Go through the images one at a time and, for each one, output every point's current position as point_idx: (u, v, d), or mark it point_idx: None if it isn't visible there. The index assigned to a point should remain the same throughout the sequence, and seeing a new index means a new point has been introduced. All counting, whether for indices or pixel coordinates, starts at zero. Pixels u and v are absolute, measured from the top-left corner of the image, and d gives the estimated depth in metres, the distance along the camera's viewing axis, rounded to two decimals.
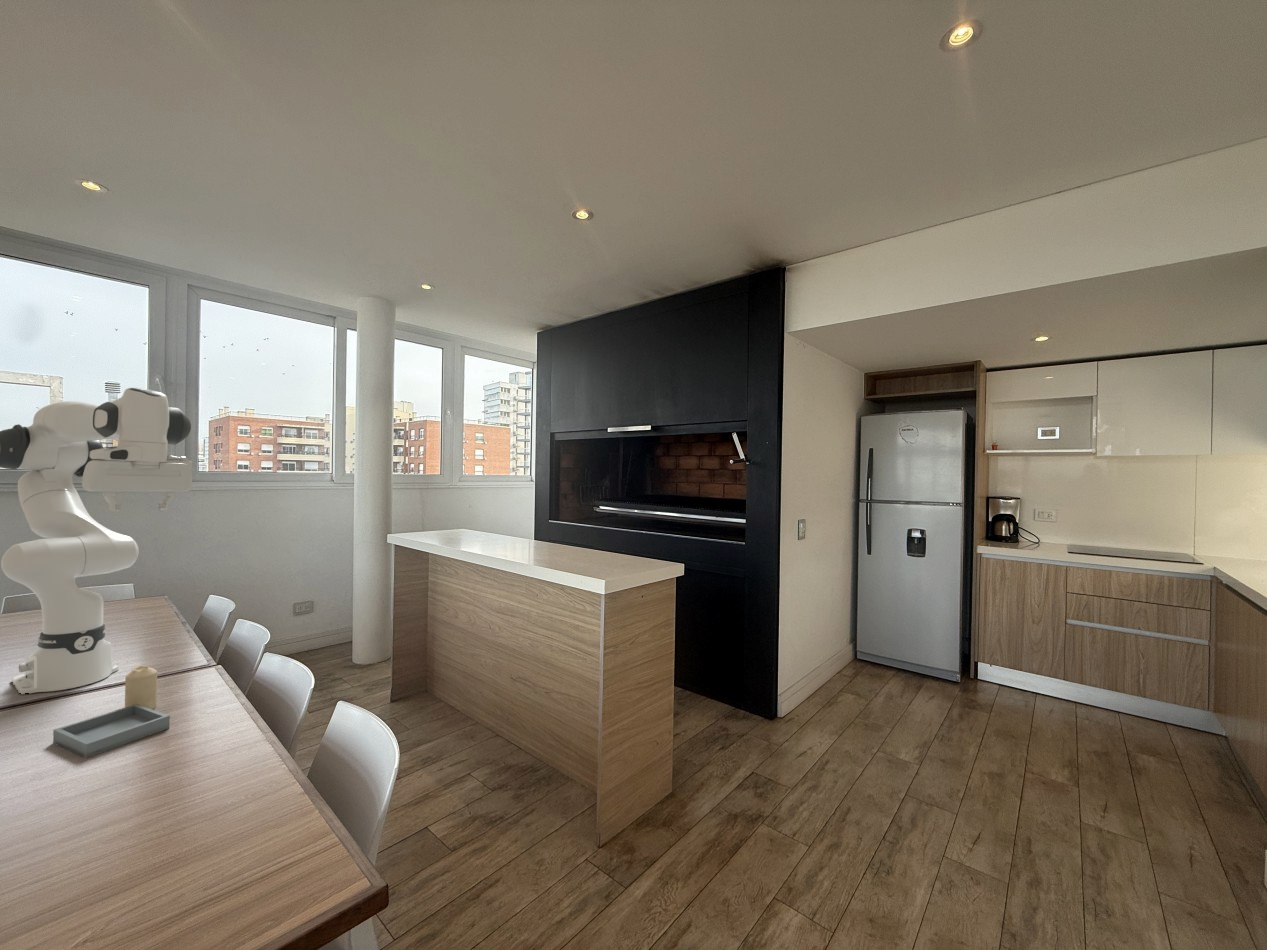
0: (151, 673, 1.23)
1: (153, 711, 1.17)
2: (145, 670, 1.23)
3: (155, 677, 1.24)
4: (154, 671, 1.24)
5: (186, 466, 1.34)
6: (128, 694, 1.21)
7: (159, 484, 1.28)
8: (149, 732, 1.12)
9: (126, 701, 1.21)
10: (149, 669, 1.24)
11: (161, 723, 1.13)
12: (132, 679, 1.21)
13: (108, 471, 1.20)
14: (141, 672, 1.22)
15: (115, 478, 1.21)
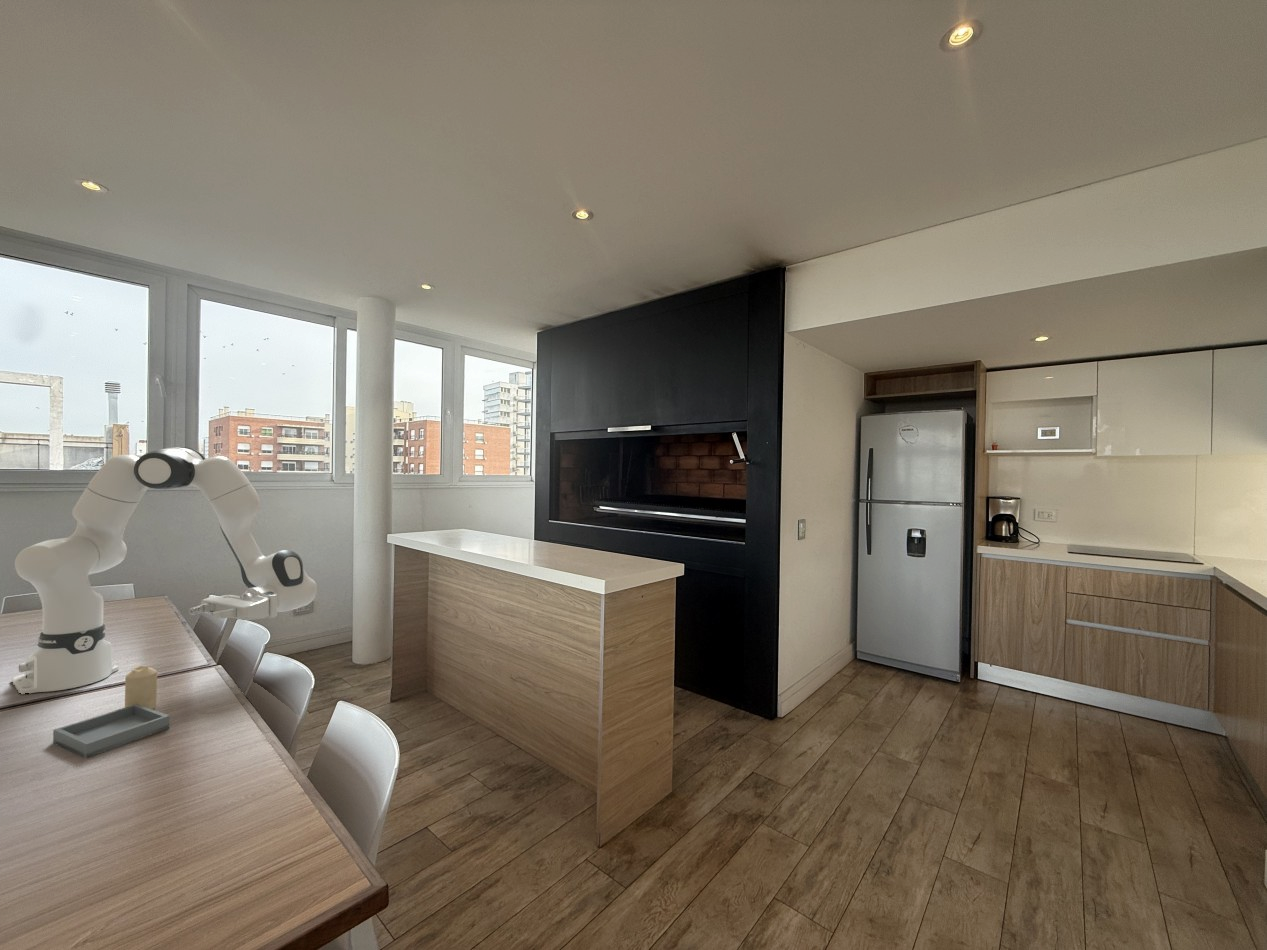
0: (151, 673, 1.23)
1: (153, 711, 1.17)
2: (145, 670, 1.23)
3: (155, 677, 1.24)
4: (154, 671, 1.24)
5: None
6: (128, 694, 1.21)
7: None
8: (149, 732, 1.12)
9: (126, 701, 1.21)
10: (149, 669, 1.24)
11: (161, 723, 1.13)
12: (132, 679, 1.21)
13: None
14: (141, 672, 1.22)
15: None
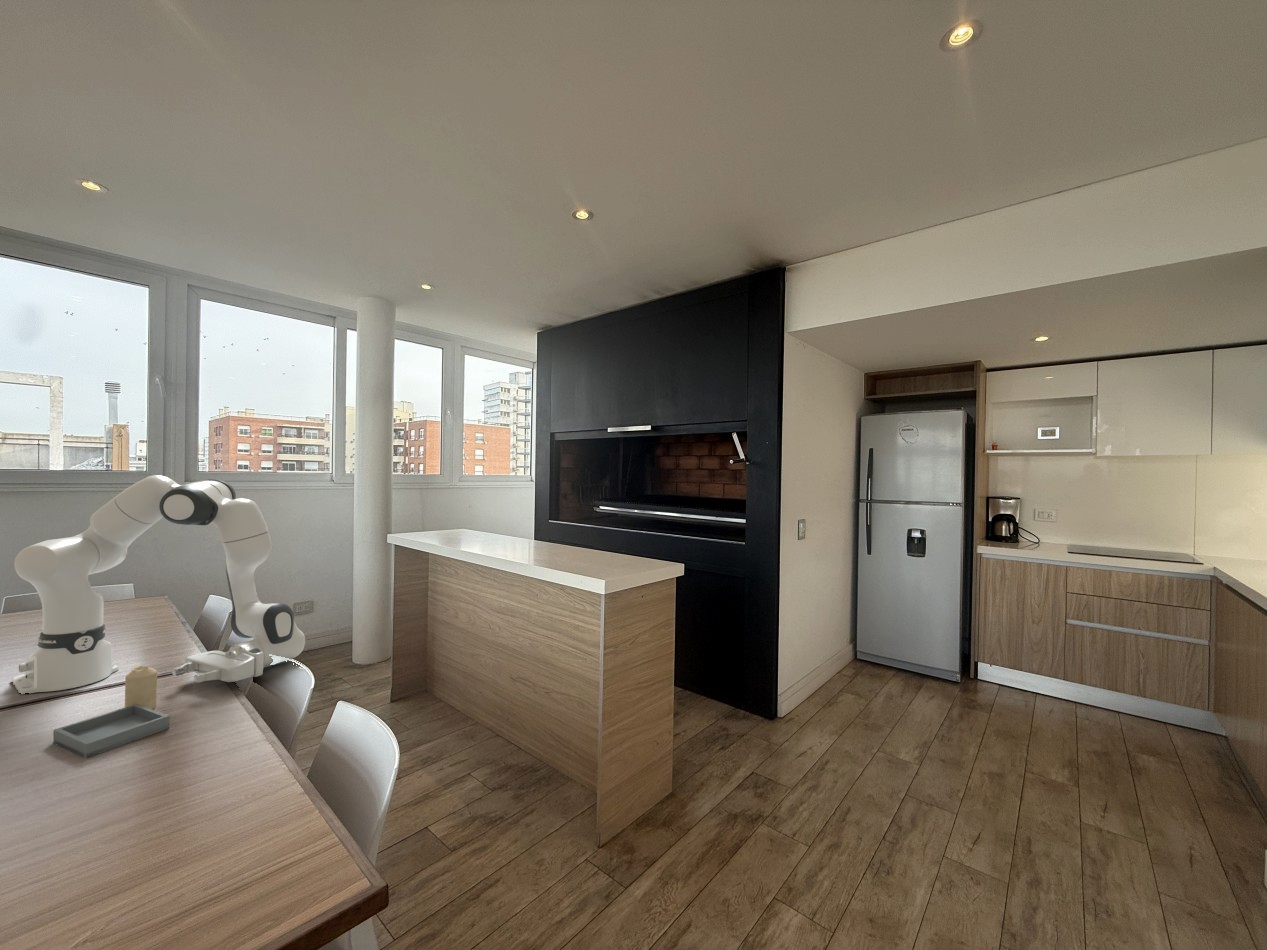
0: (151, 673, 1.23)
1: (153, 711, 1.17)
2: (145, 670, 1.23)
3: (155, 677, 1.24)
4: (154, 671, 1.24)
5: None
6: (128, 694, 1.21)
7: None
8: (149, 732, 1.12)
9: (126, 701, 1.21)
10: (149, 669, 1.24)
11: (161, 723, 1.13)
12: (132, 679, 1.21)
13: None
14: (141, 672, 1.22)
15: None
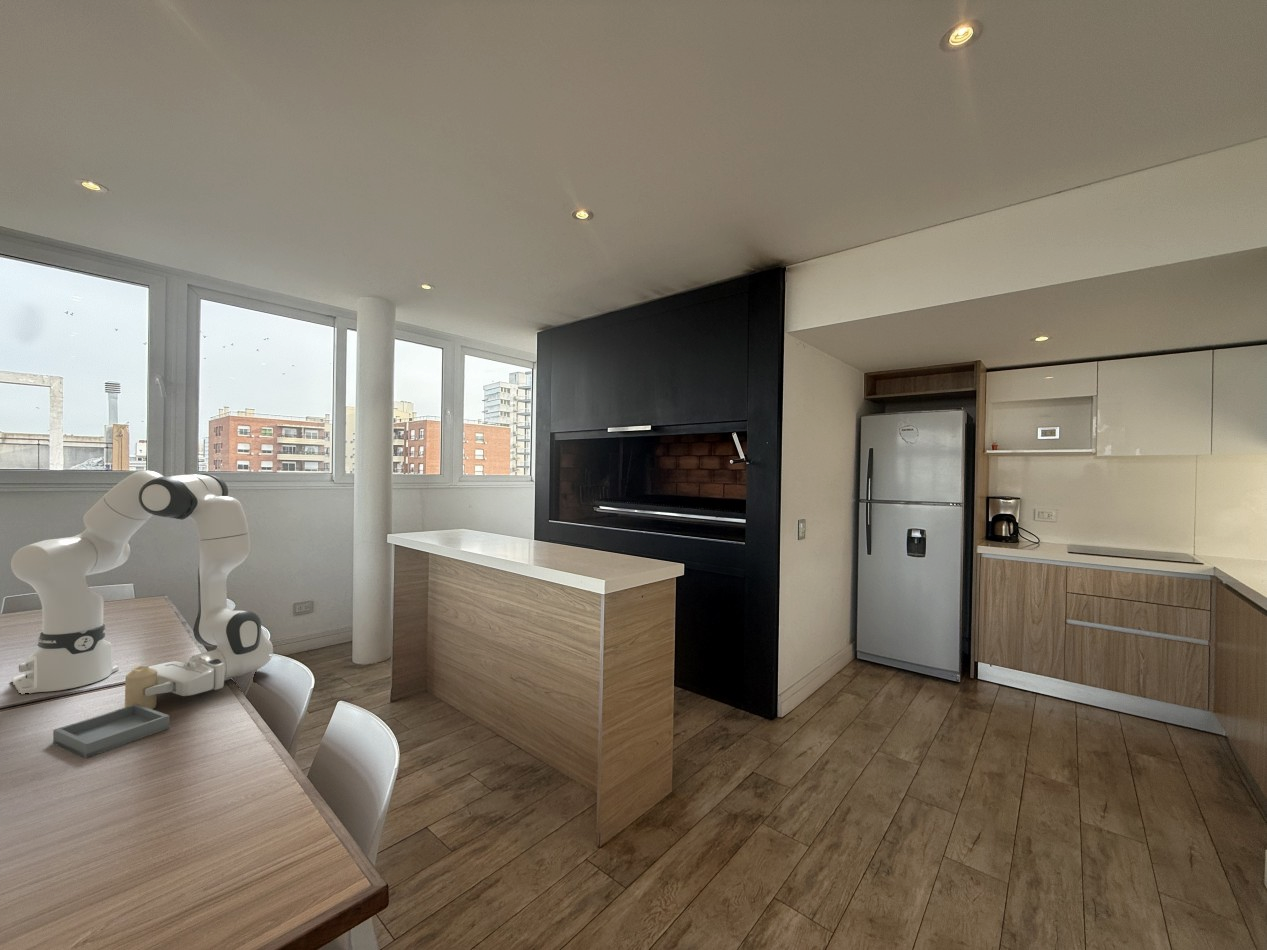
0: (151, 673, 1.23)
1: (153, 711, 1.17)
2: (145, 670, 1.23)
3: (155, 677, 1.24)
4: (154, 671, 1.24)
5: None
6: (128, 694, 1.21)
7: None
8: (149, 732, 1.12)
9: (126, 701, 1.21)
10: (149, 669, 1.24)
11: (161, 723, 1.13)
12: (132, 678, 1.21)
13: None
14: (141, 672, 1.22)
15: None
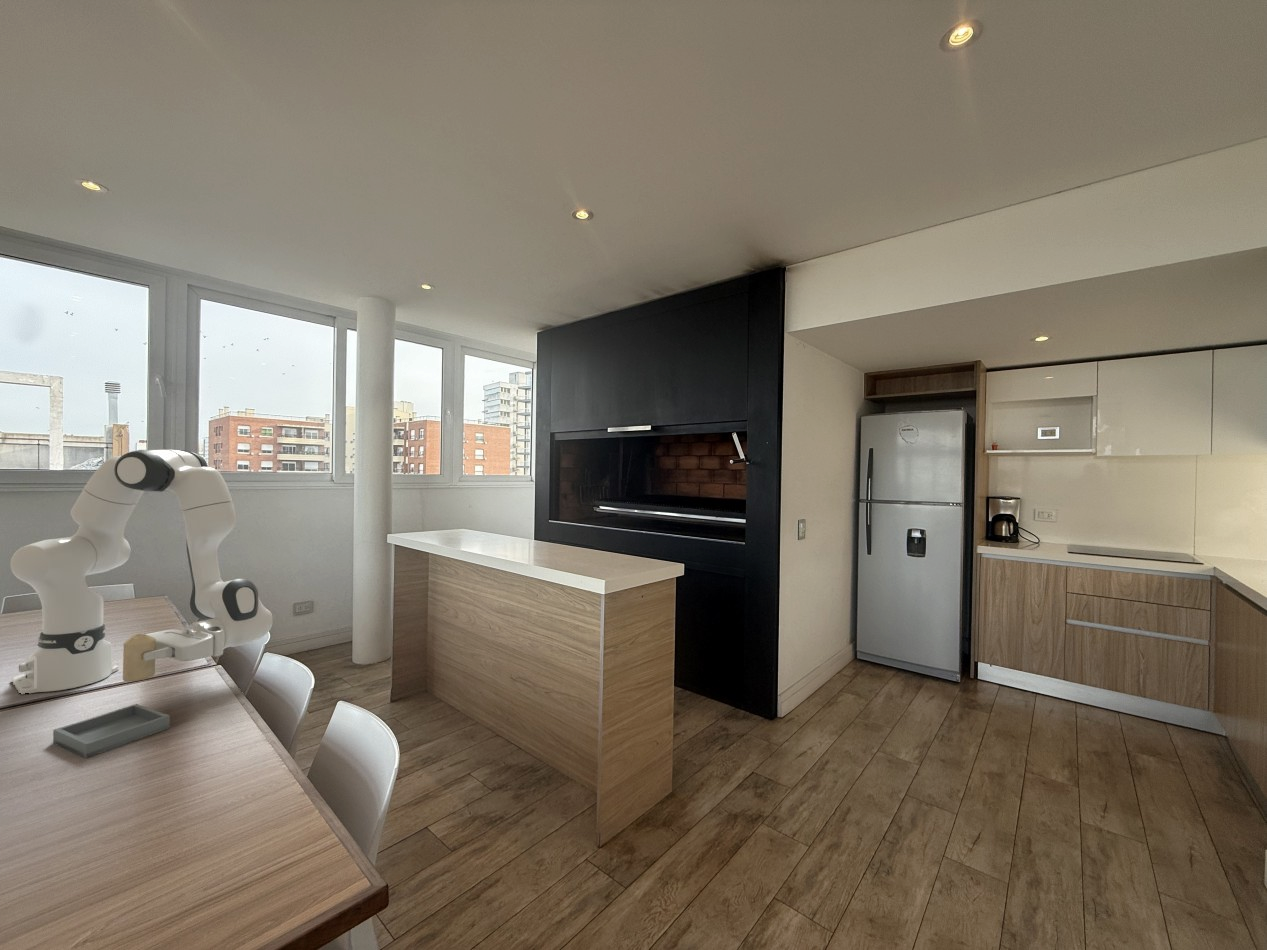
0: (149, 641, 1.22)
1: (153, 711, 1.17)
2: (144, 637, 1.21)
3: (154, 645, 1.23)
4: (153, 639, 1.23)
5: None
6: (126, 661, 1.19)
7: None
8: (149, 732, 1.12)
9: (124, 668, 1.19)
10: (148, 636, 1.22)
11: (161, 723, 1.13)
12: (130, 645, 1.19)
13: None
14: (140, 639, 1.21)
15: None
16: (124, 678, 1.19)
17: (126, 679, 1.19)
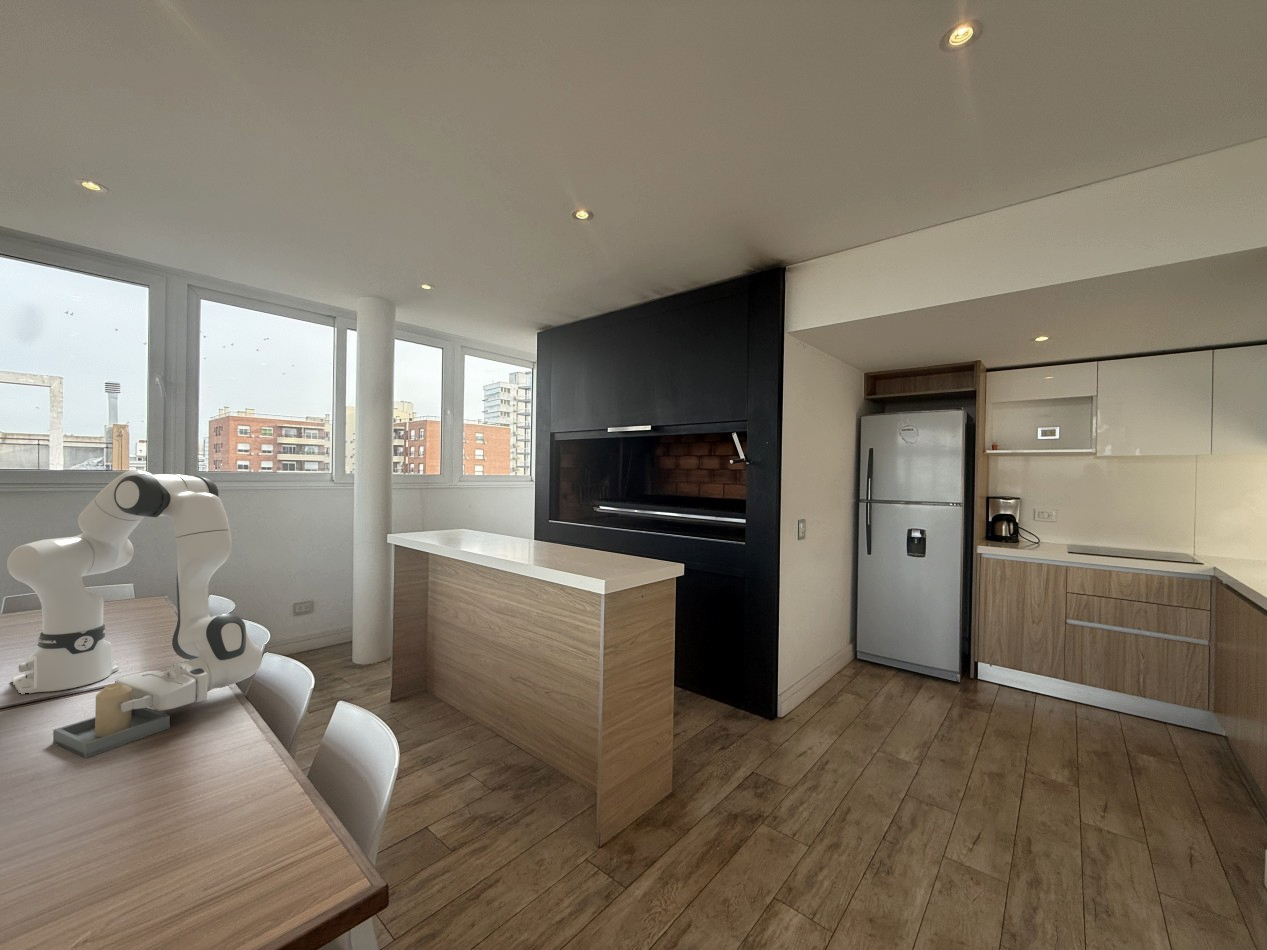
0: (124, 692, 1.11)
1: (153, 711, 1.17)
2: (118, 688, 1.11)
3: (129, 696, 1.12)
4: (128, 689, 1.12)
5: None
6: (99, 715, 1.09)
7: None
8: (149, 732, 1.12)
9: (96, 723, 1.09)
10: (123, 687, 1.11)
11: (161, 723, 1.13)
12: (103, 698, 1.09)
13: None
14: (113, 690, 1.10)
15: None
16: (96, 734, 1.09)
17: (98, 735, 1.09)
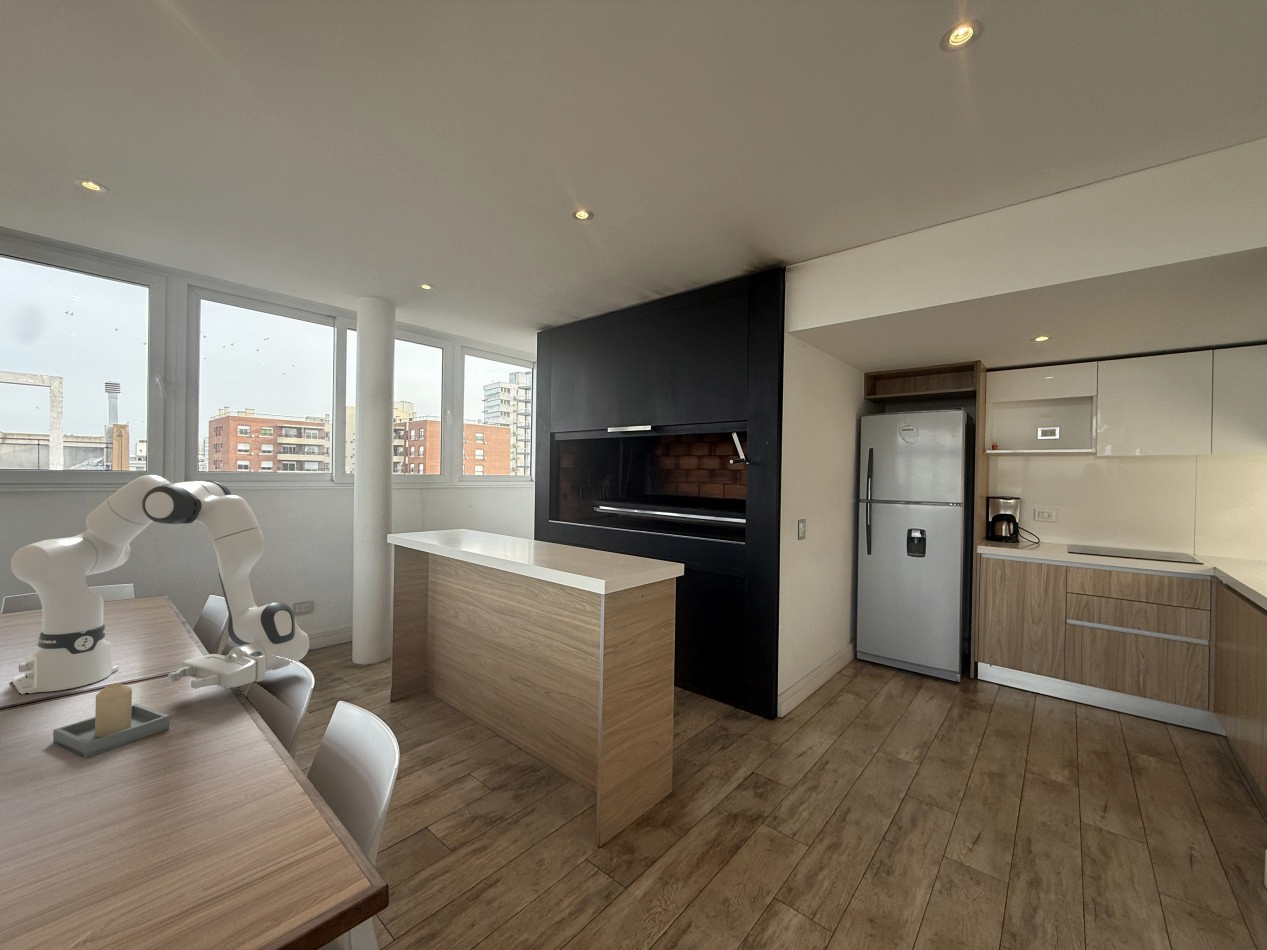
0: (124, 692, 1.11)
1: (153, 711, 1.17)
2: (118, 688, 1.11)
3: (129, 696, 1.12)
4: (128, 689, 1.12)
5: None
6: (99, 715, 1.09)
7: None
8: (149, 732, 1.12)
9: (96, 723, 1.09)
10: (122, 687, 1.11)
11: (161, 723, 1.13)
12: (103, 698, 1.09)
13: None
14: (113, 690, 1.10)
15: None
16: (96, 734, 1.09)
17: (98, 735, 1.09)
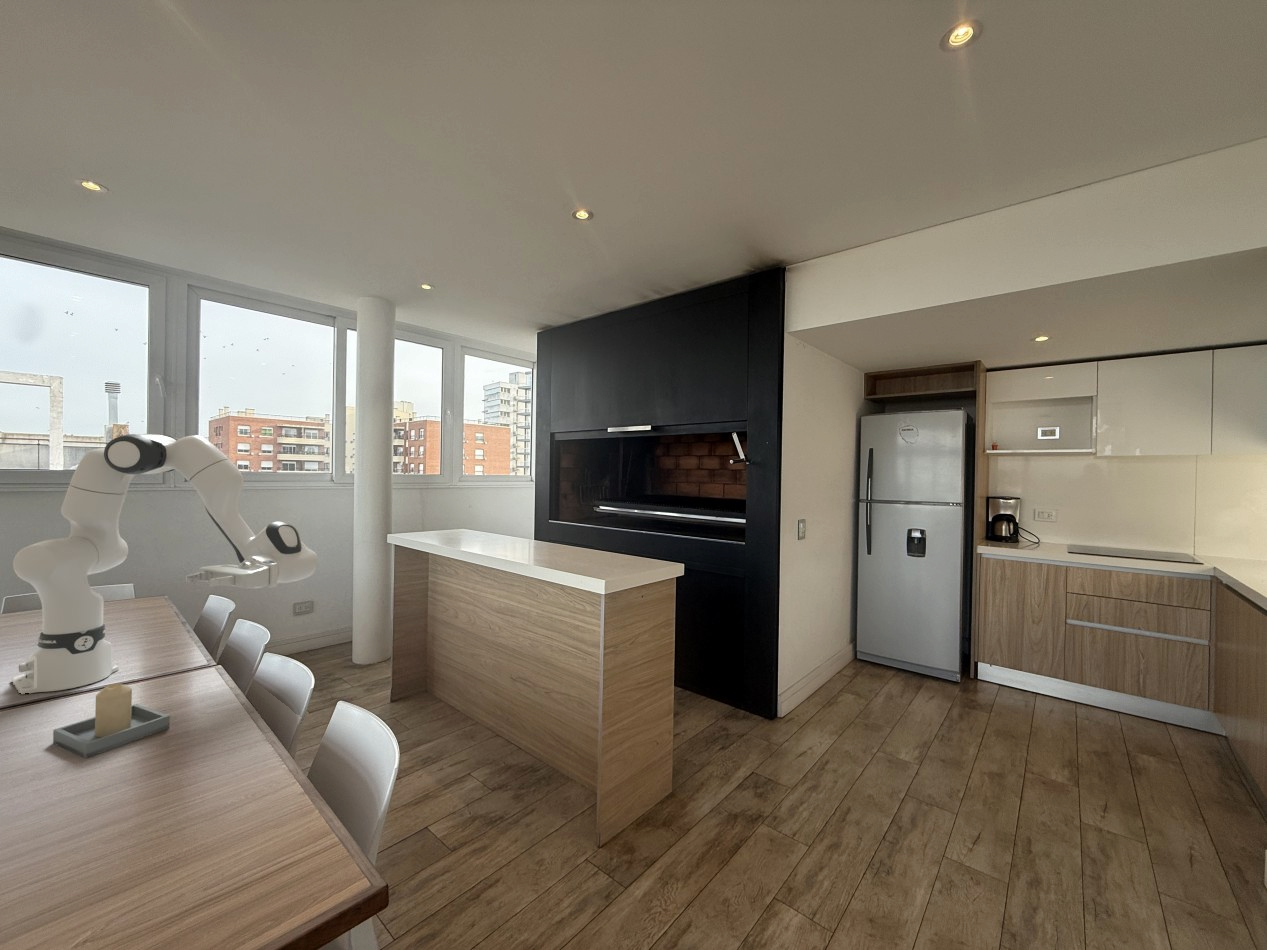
0: (124, 692, 1.11)
1: (153, 711, 1.17)
2: (118, 688, 1.11)
3: (129, 696, 1.12)
4: (128, 689, 1.12)
5: None
6: (99, 715, 1.09)
7: None
8: (149, 732, 1.12)
9: (96, 723, 1.09)
10: (122, 687, 1.11)
11: (161, 723, 1.13)
12: (103, 698, 1.09)
13: None
14: (113, 690, 1.10)
15: None
16: (96, 734, 1.09)
17: (98, 735, 1.09)
